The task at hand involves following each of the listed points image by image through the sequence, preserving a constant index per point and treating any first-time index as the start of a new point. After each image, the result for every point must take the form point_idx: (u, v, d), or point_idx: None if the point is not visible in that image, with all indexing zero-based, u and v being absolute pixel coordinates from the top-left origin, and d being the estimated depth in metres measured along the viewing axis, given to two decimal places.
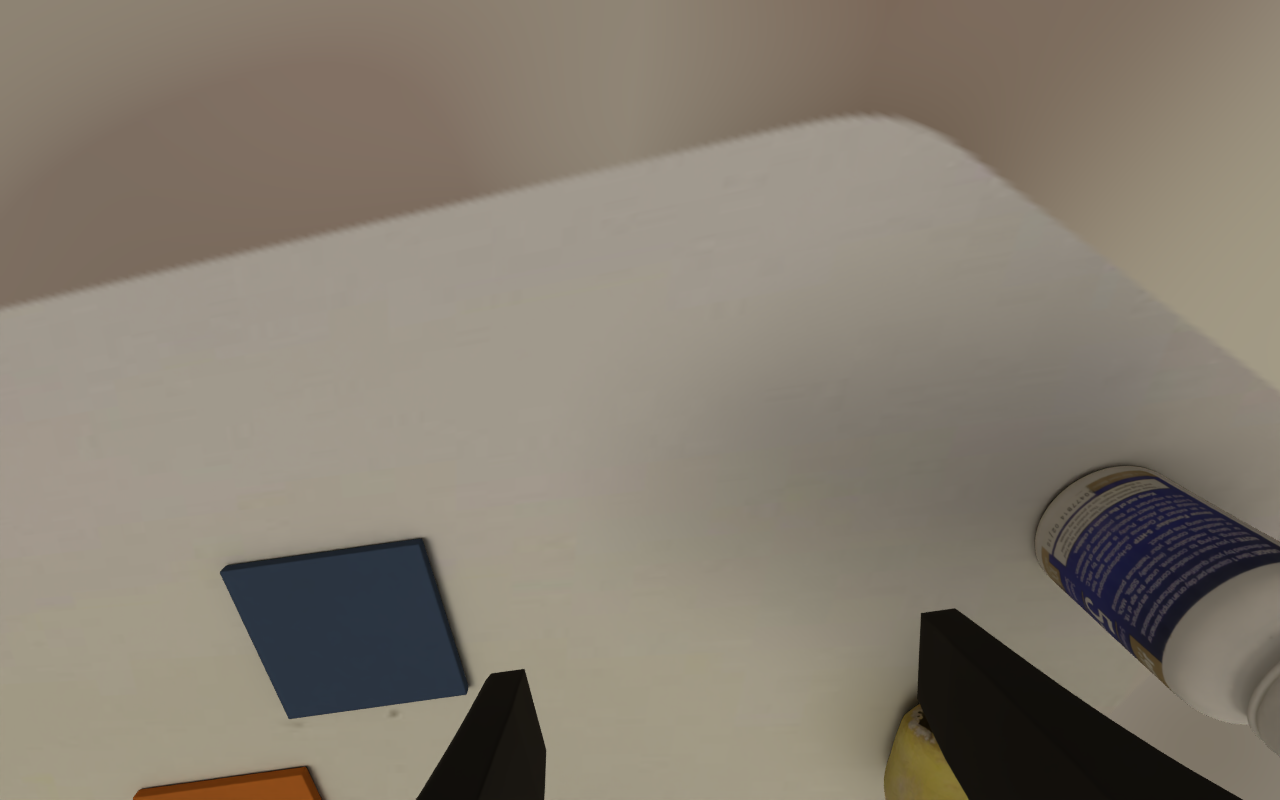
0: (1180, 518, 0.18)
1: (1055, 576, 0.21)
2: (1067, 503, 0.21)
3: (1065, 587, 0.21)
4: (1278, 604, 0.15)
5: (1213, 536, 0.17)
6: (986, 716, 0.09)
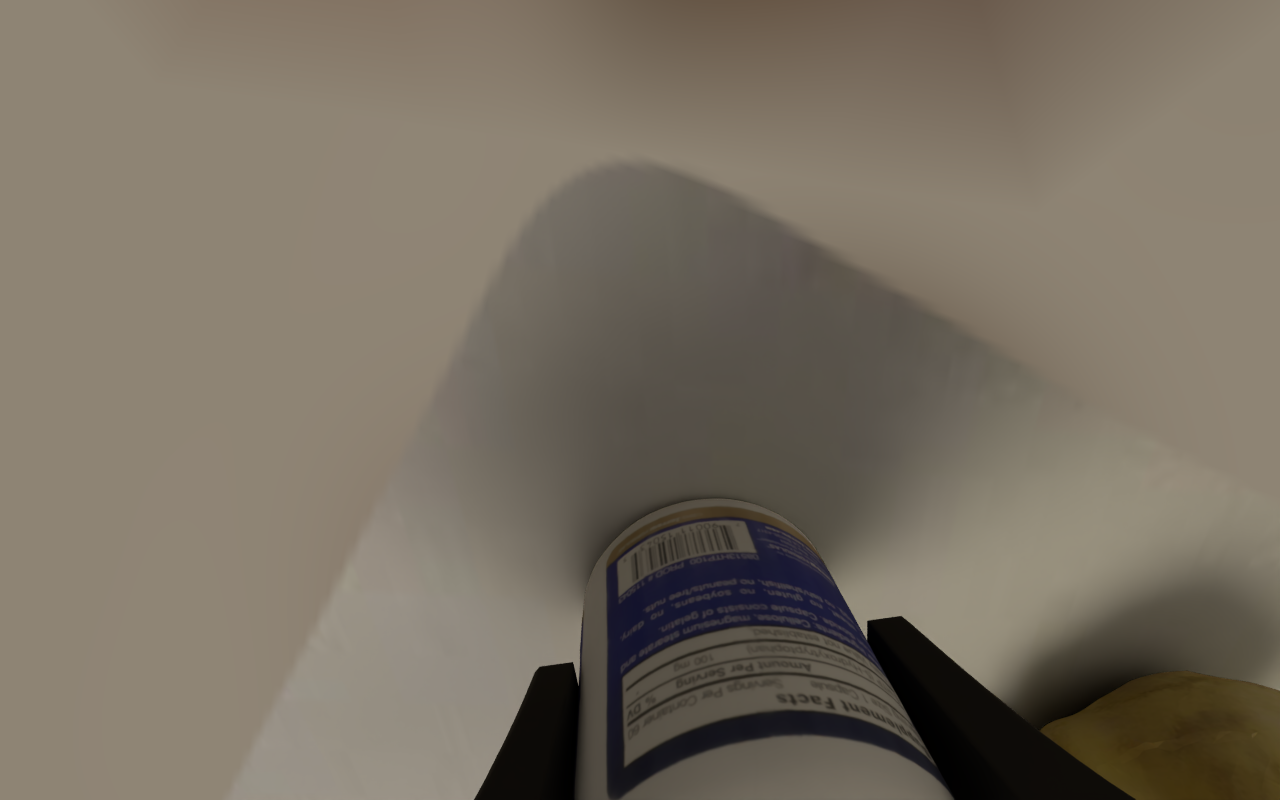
0: None
1: None
2: None
3: None
4: None
5: None
6: (923, 725, 0.09)
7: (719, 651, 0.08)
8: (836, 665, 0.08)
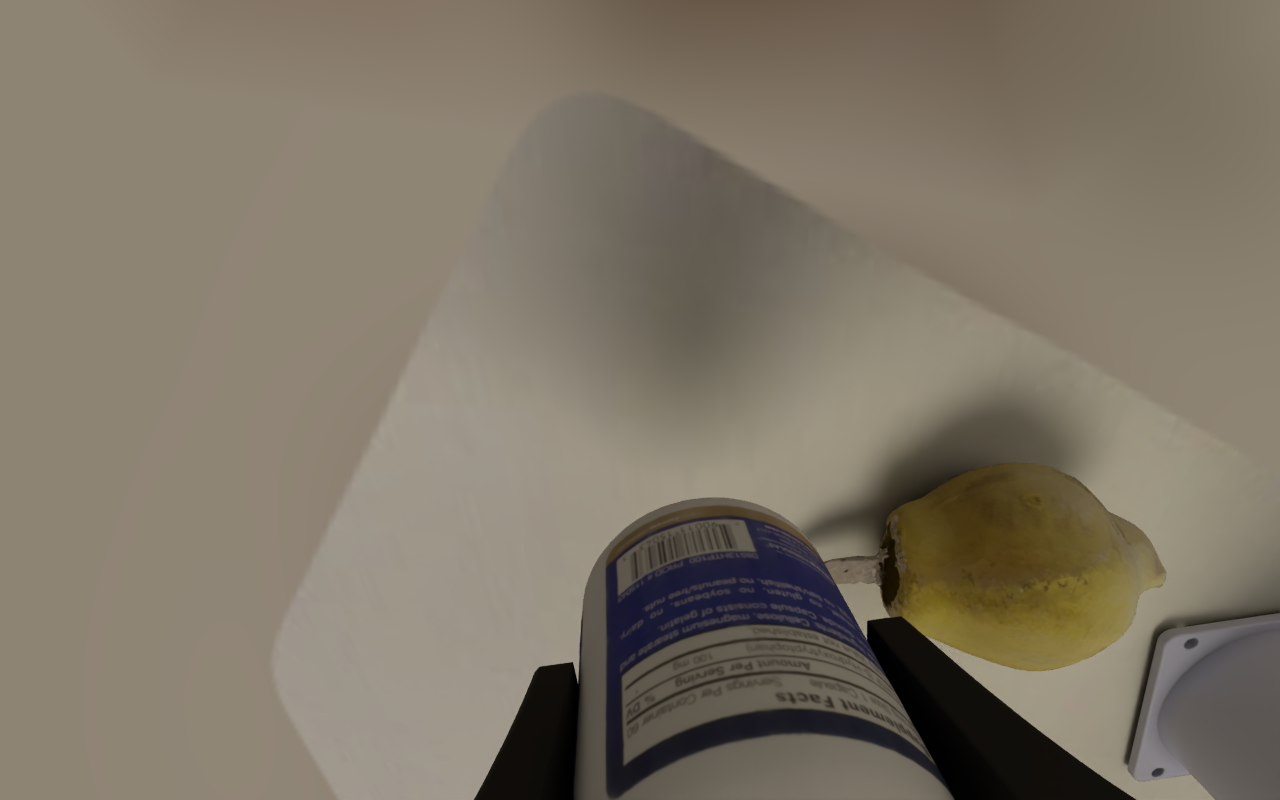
0: None
1: None
2: None
3: None
4: None
5: None
6: (924, 725, 0.09)
7: (718, 651, 0.08)
8: (835, 664, 0.08)
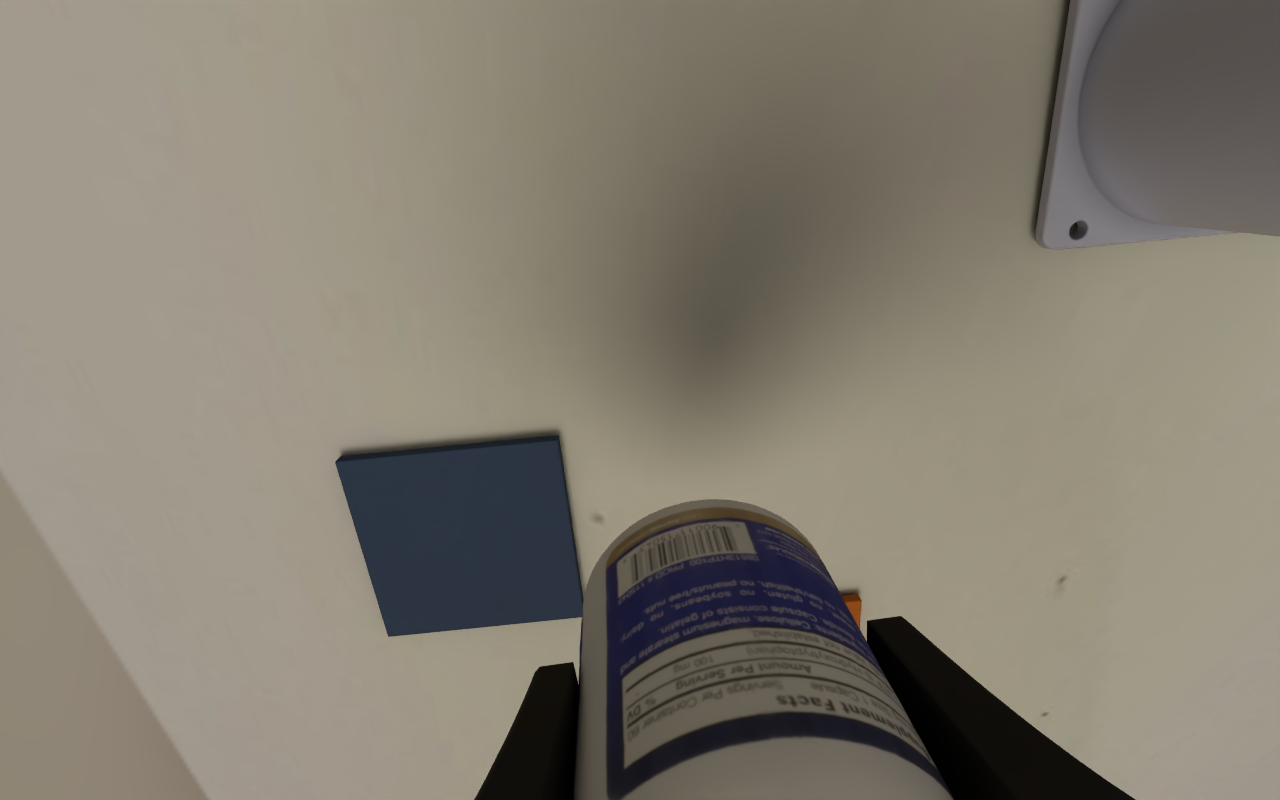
0: None
1: None
2: None
3: None
4: None
5: None
6: (923, 725, 0.09)
7: (718, 653, 0.08)
8: (835, 666, 0.08)
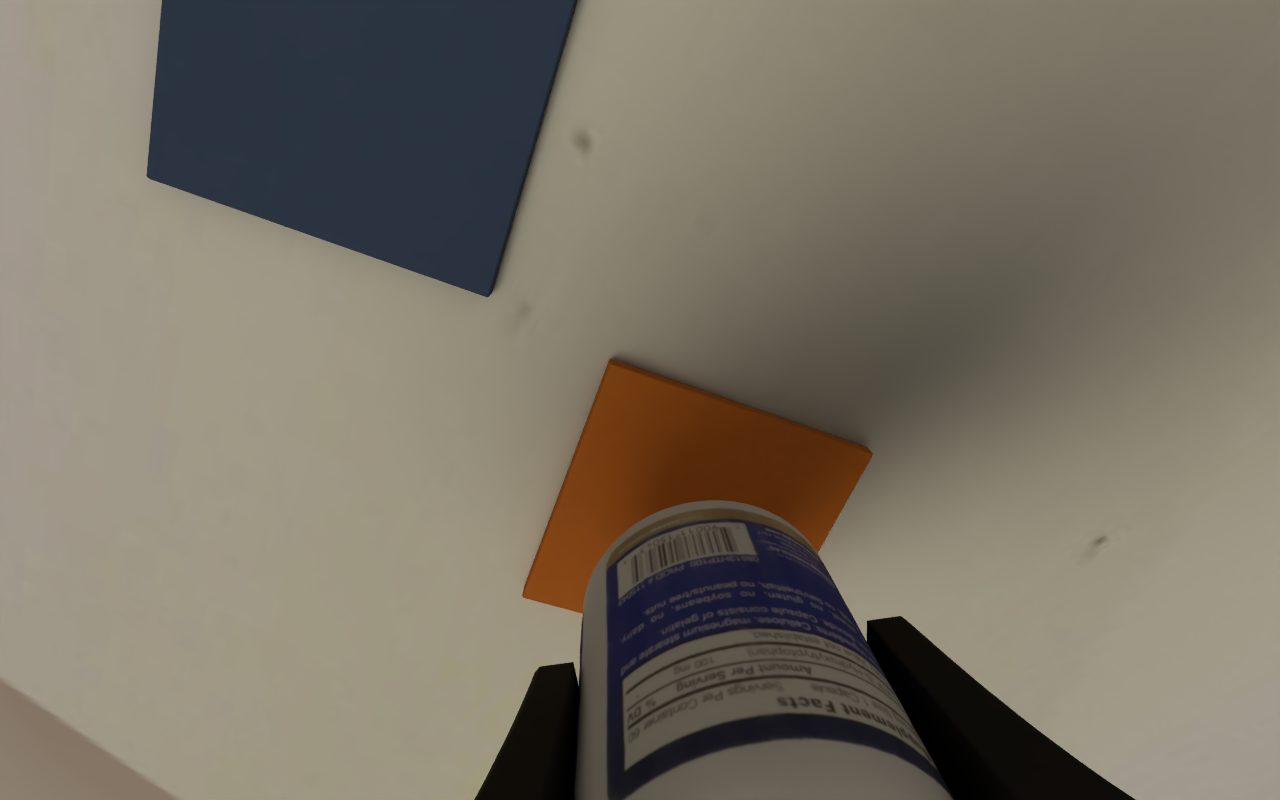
0: None
1: None
2: None
3: None
4: None
5: None
6: (922, 725, 0.09)
7: (719, 655, 0.08)
8: (836, 668, 0.08)
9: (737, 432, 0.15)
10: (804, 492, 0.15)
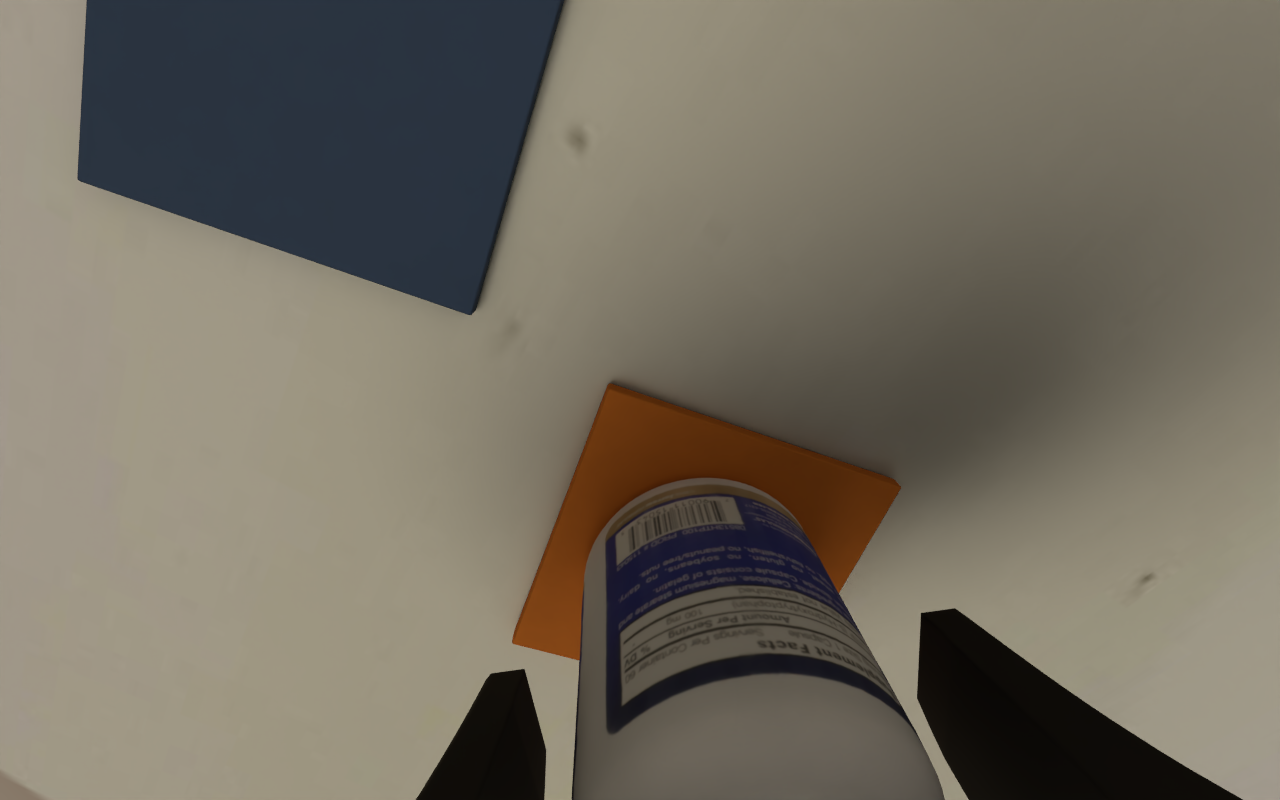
0: None
1: None
2: None
3: None
4: None
5: None
6: (987, 716, 0.09)
7: (707, 607, 0.09)
8: (812, 619, 0.09)
9: (750, 464, 0.13)
10: (824, 529, 0.14)
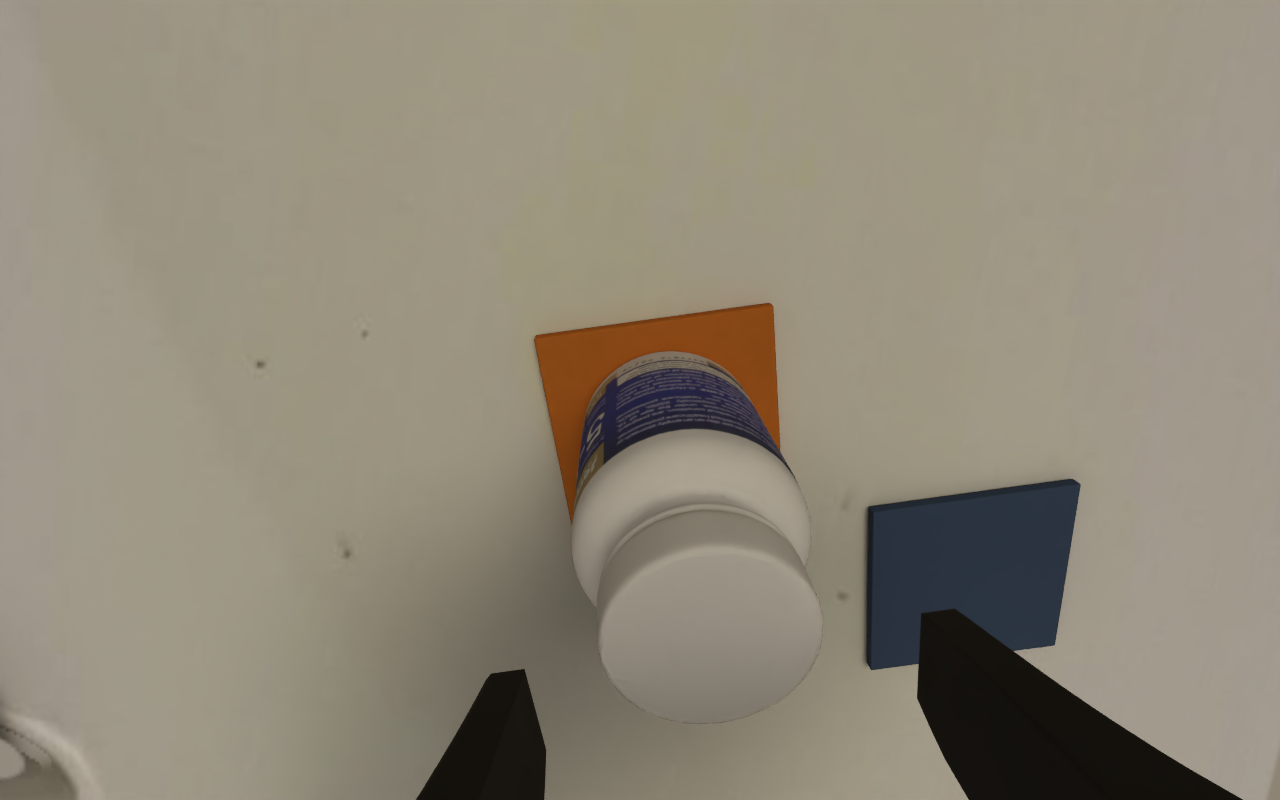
0: (752, 412, 0.15)
1: (594, 402, 0.17)
2: (680, 355, 0.17)
3: (591, 412, 0.16)
4: (760, 478, 0.12)
5: (763, 431, 0.14)
6: (987, 716, 0.09)
7: None
8: None
9: None
10: None
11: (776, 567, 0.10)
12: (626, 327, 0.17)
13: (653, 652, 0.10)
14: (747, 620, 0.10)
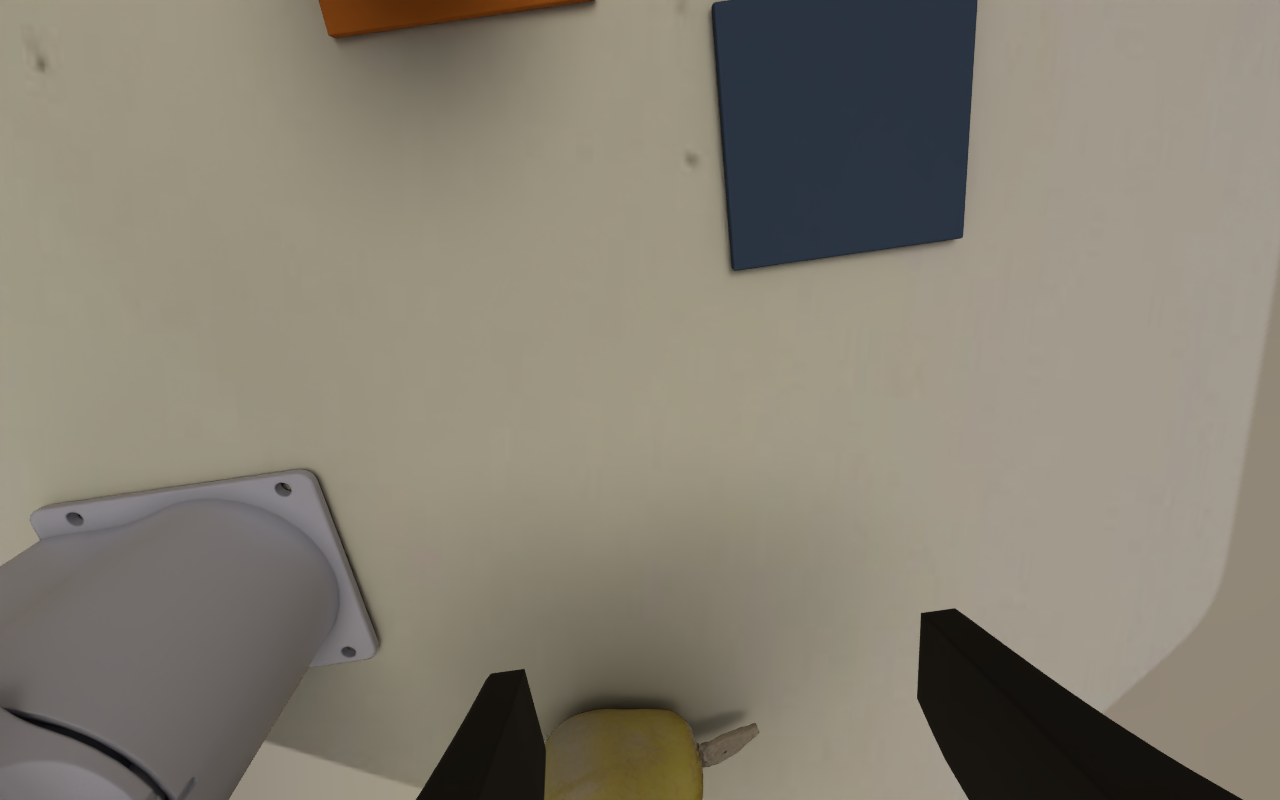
0: None
1: None
2: None
3: None
4: None
5: None
6: (987, 716, 0.09)
7: None
8: None
9: None
10: None
11: None
12: None
13: None
14: None
